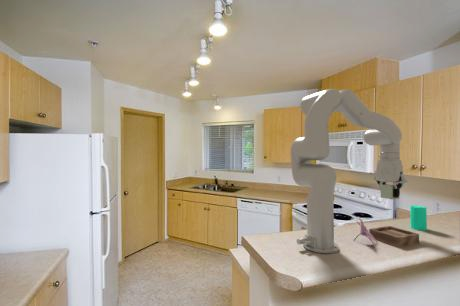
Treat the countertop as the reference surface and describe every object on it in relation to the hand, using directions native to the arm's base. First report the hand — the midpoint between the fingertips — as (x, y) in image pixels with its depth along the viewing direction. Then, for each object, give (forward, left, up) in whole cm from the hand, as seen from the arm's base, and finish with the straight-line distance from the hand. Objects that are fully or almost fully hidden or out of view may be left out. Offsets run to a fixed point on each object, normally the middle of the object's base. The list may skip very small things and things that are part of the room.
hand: (389, 196), depth 107 cm
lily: (-23, -6, -16) cm, 29 cm away
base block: (-10, -8, -17) cm, 21 cm away
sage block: (0, 0, -1) cm, 1 cm away
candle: (+16, -2, -16) cm, 23 cm away
